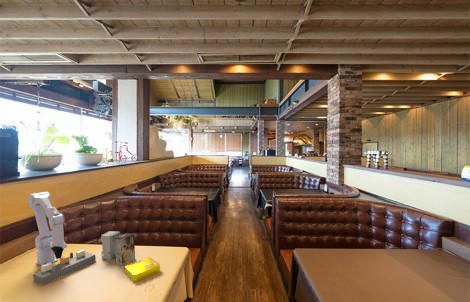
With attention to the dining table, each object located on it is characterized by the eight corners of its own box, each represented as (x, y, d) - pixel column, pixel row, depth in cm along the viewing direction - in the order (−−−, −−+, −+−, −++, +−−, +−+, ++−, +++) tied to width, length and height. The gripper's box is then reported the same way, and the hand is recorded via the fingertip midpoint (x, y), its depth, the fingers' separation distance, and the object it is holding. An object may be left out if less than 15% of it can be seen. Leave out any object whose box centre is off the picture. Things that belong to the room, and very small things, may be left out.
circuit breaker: (121, 260, 147) (120, 236, 146) (101, 258, 150) (100, 235, 149) (129, 254, 154) (128, 232, 154) (110, 253, 157) (109, 231, 157)
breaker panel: (33, 281, 125) (33, 274, 125) (86, 258, 150) (86, 252, 150) (42, 285, 121) (42, 277, 121) (95, 261, 147) (95, 254, 146)
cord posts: (43, 272, 133) (42, 263, 133) (72, 260, 147) (72, 252, 147) (44, 273, 132) (44, 264, 132) (73, 260, 146) (73, 252, 146)
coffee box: (129, 257, 150) (128, 232, 150) (135, 259, 147) (134, 234, 147) (115, 263, 142) (114, 237, 142) (121, 266, 139) (120, 239, 139)
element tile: (149, 263, 142) (149, 255, 142) (161, 272, 131) (161, 264, 131) (123, 273, 131) (123, 265, 131) (134, 284, 121) (134, 274, 121)
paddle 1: (41, 271, 127) (41, 265, 127) (49, 267, 131) (49, 262, 131) (43, 272, 126) (43, 266, 126) (52, 268, 130) (52, 263, 130)
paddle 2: (76, 257, 144) (75, 252, 144) (82, 254, 147) (82, 249, 147) (78, 257, 142) (78, 252, 142) (85, 254, 146) (85, 250, 146)
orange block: (59, 263, 135) (59, 258, 135) (67, 260, 139) (67, 255, 139) (62, 264, 134) (62, 259, 134) (69, 261, 138) (69, 256, 138)
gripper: (43, 236, 139) (44, 259, 139) (57, 239, 132) (58, 263, 133) (56, 232, 145) (57, 254, 145) (70, 235, 139) (71, 258, 139)
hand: (58, 258), depth 139 cm, fingers closed
